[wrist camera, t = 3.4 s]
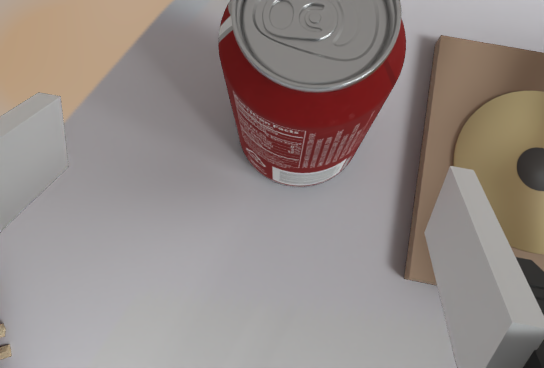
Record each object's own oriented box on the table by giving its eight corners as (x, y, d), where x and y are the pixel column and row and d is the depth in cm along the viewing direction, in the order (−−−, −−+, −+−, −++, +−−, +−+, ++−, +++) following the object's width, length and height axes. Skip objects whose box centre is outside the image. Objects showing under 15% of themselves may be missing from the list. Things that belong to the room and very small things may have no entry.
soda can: (352, 196, 26) (415, 119, 14) (231, 182, 26) (196, 95, 14) (361, 84, 27) (426, -70, 16) (247, 71, 28) (227, -89, 16)
